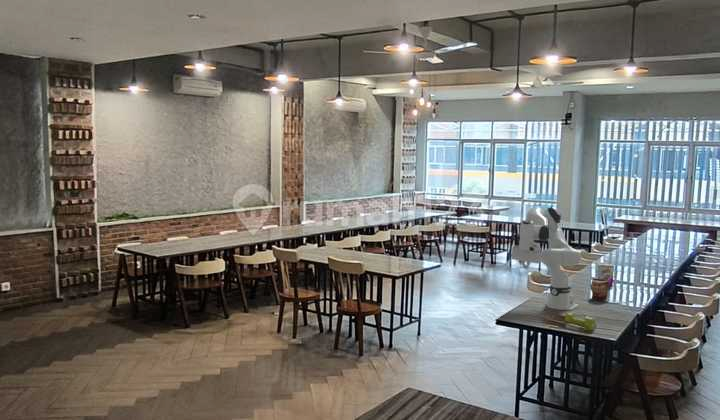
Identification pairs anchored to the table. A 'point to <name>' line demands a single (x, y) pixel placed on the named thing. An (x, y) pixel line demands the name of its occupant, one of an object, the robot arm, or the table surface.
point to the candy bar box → (606, 273)
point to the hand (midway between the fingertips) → (525, 268)
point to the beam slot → (564, 323)
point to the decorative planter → (599, 289)
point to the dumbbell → (580, 321)
